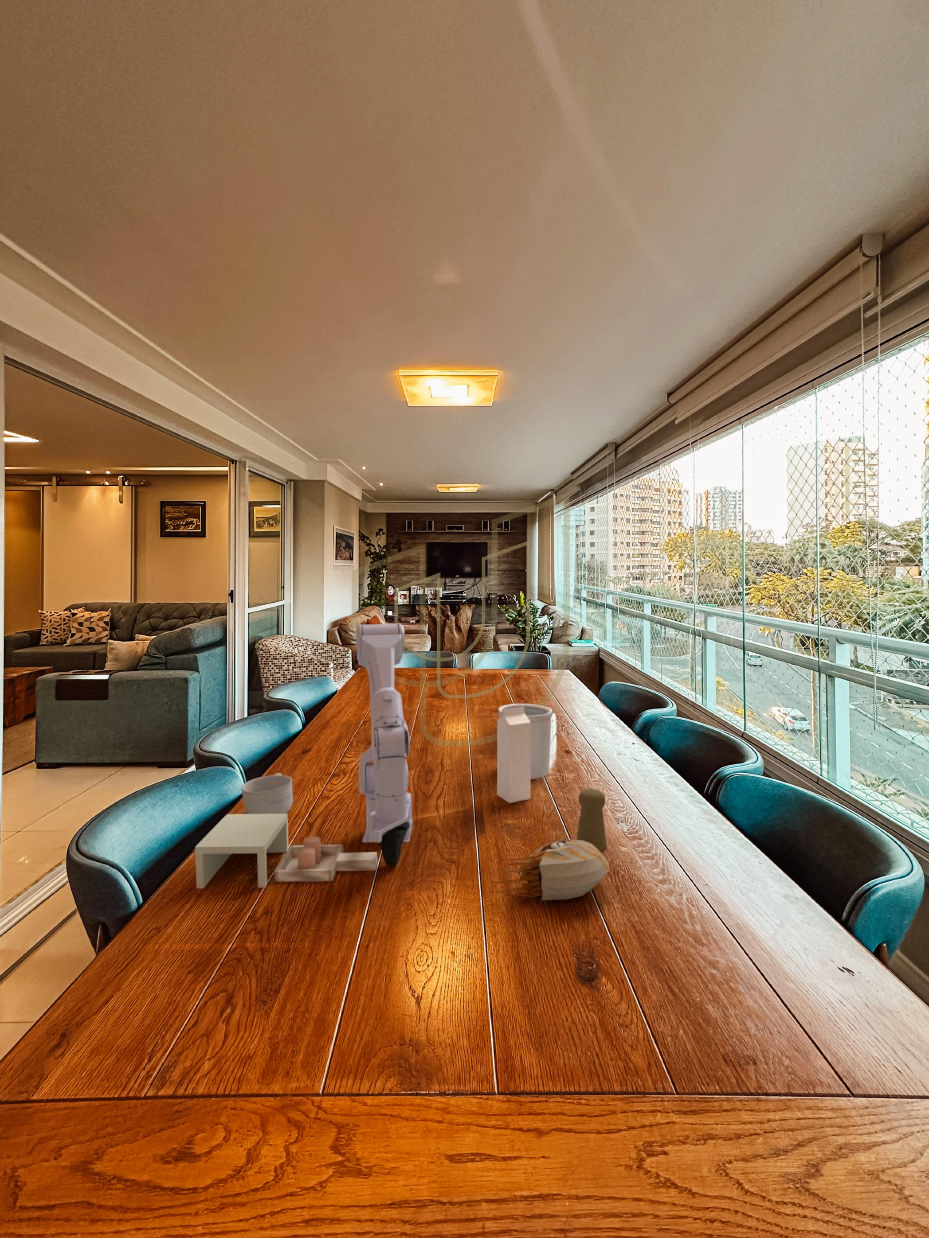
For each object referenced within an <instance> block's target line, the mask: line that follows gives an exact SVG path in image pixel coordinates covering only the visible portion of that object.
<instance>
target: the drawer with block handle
mask: <svg viewBox="0 0 929 1238" xmlns="http://www.w3.org/2000/svg"><path fill="white" fill-rule="evenodd" d="M303 848H304V844H302V845H300V844H299V845H297V844H296V845H289V846H288V851H287V852H285V854H284V856H283V857H282V859H281V860H280V862H279V863H278V865H277V867H276V869H275V870H274V882H275V883H277V882H333V880H334V878H335V876H336V873H337V872H362V871H363V872H365V871H366V872H369V871H374V872H375V871H376V868H377V865H378V852H377V851H373V852H372V851H369V852H365V851H363V852H344V844H321V854H322V861H321V862H319V863H317V864H316V869H298V851H299V850H300V849H303Z"/></svg>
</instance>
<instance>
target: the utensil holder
mask: <svg viewBox="0 0 929 1238" xmlns="http://www.w3.org/2000/svg"><path fill="white" fill-rule="evenodd" d="M519 707H524V713H525V715H526V716H527V718H528V719H529V720H530V722H531V780H535V779H541V778H545V777H546V776H547V775H549V772H550V761H551V760H550V759H551V758H550V757H551V738H552V737H551V736H552V733H551V732H552V731H551V730H552V716H553V709H552V708H551V707H549V706H546V705H545V706H544V705H541V704H535V703H533V704H532V703H510V704H506V705H505V704H504V705H501V706H499V707H498V711H497V713H498V716H499V717H498V719H499V718H501V717H502V716H503V710H504V709H510V708H519Z"/></svg>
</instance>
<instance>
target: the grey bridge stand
mask: <svg viewBox="0 0 929 1238" xmlns="http://www.w3.org/2000/svg"><path fill="white" fill-rule="evenodd" d="M288 815H289V813H286V814H246V813H236V814H235V813H227V814H226V815H224V817H223V818H221V820H220V821H218V823H217V824H216V825H215V826H214V827H213V828H212V829H211V830H210V831H209V832H208V833H207V834H206V835H205V836H204V837H203V838H202V839H201V840H200V842H198V844H196V846H195V847H194V850H195V855H194V856H195V877H196V878H195V879H196V881H195V882H196V883H195V884H196V885H195V887H196V889H205V887H206V886H207V885H208V884H209V882H211V880H212V879H213V877H214V876H215V875H216V874H217V873H218V871H219V870H220V869H221V868H222V867H223V865H224V864H225V863H226V862H227V860H228V859H229V857H231V856H232V854H257V855H256V856H257V857H256V858H257V888H258V889H259V888H261V889H264V888H266V887H267V885H268V867H267V865H268V863H267V854H269V853H275V854H276V853H286V852H287V851H288V849H289V822H288V821H289V818H288Z"/></svg>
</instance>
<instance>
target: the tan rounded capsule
mask: <svg viewBox="0 0 929 1238" xmlns="http://www.w3.org/2000/svg"><path fill="white" fill-rule="evenodd" d="M321 840H322V839H321V837H319V836H313V835H312V836H309V837H307V838H305V839H304V840H303V845H304V848H307V847H311V848H314V849H315V861H316V864H317V863H319V862H321V861H322V854H321V845H322V842H321Z"/></svg>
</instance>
